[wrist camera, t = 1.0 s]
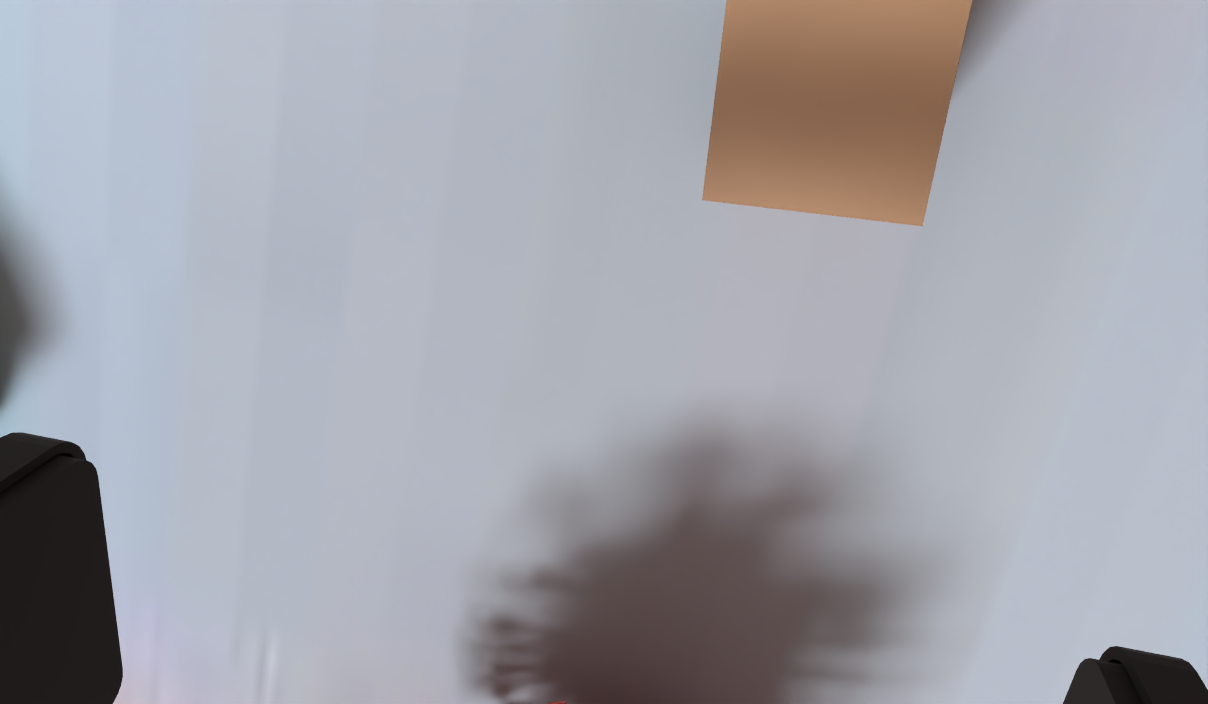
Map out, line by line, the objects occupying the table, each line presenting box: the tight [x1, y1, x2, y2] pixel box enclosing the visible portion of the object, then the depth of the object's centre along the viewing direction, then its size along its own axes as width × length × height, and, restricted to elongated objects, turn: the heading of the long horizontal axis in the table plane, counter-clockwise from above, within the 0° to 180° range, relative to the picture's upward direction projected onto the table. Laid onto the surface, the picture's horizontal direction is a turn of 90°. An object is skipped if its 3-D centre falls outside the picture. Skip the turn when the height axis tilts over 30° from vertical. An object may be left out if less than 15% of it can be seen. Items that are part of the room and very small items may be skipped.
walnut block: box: [702, 0, 972, 226], centre depth 23 cm, size 5×5×6 cm
